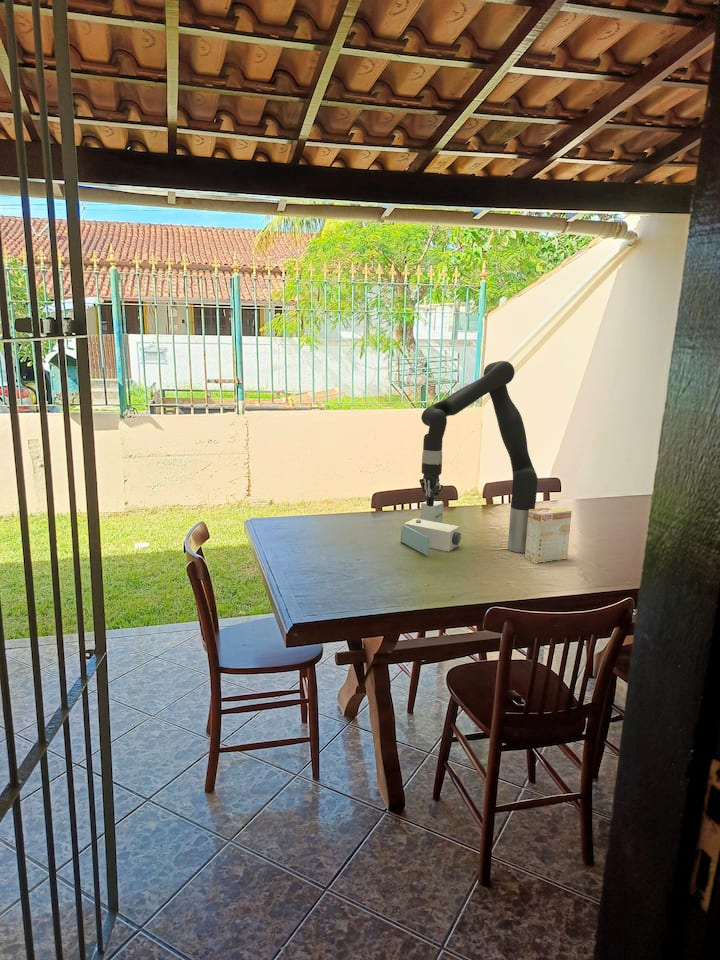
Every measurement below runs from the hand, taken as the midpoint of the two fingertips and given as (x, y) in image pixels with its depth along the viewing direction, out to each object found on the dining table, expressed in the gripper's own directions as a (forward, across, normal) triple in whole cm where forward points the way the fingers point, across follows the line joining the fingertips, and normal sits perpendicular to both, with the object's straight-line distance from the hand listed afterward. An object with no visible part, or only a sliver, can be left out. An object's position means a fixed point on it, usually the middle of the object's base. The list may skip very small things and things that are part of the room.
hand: (429, 505), depth 238 cm
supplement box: (+19, -24, +18) cm, 36 cm away
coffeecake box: (+19, +24, +38) cm, 49 cm away
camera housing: (+19, -9, +8) cm, 22 cm away
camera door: (+18, -6, -2) cm, 20 cm away
